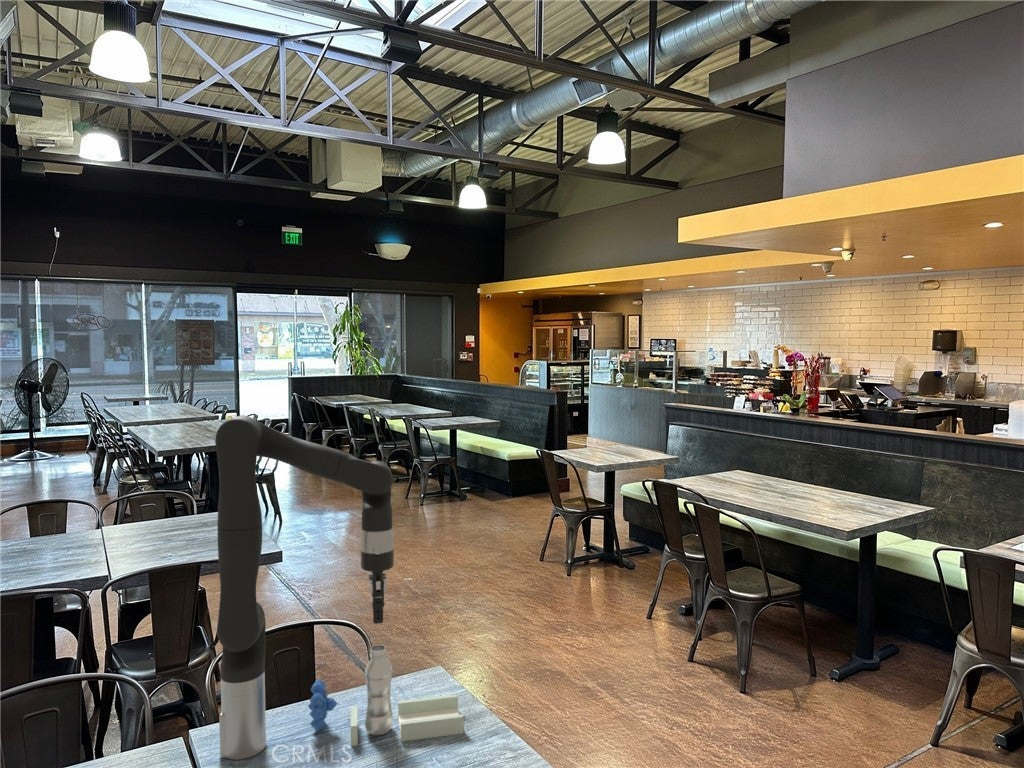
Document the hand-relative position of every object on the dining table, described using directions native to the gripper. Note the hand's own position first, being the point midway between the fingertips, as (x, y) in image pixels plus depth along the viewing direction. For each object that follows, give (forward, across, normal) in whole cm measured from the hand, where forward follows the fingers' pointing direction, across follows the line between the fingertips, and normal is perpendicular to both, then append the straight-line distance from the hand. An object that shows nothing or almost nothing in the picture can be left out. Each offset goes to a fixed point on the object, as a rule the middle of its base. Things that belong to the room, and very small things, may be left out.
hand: (377, 615), depth 159 cm
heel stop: (+28, 0, -6) cm, 28 cm away
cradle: (+28, 0, +13) cm, 31 cm away
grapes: (+28, -4, -13) cm, 31 cm away
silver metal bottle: (+28, 0, 0) cm, 28 cm away
